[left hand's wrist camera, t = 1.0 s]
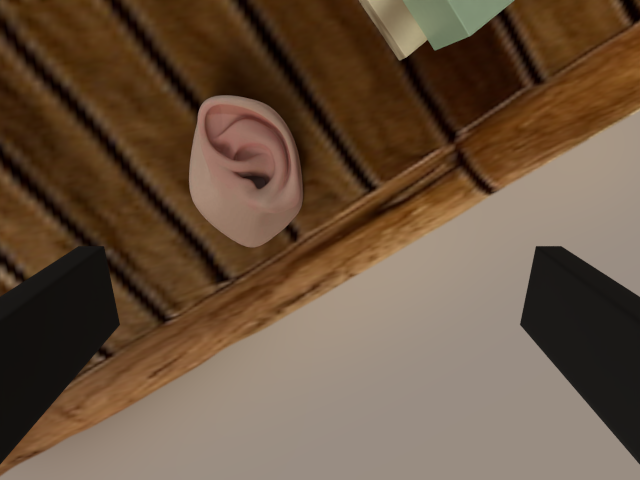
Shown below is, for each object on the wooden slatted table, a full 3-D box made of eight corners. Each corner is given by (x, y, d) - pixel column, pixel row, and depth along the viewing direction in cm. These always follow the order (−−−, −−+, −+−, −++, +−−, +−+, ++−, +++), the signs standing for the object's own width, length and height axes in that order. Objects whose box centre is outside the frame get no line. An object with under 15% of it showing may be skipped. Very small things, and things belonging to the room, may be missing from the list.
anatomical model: (272, 275, 36) (151, 225, 35) (277, 258, 40) (167, 213, 39) (334, 138, 32) (198, 75, 31) (333, 134, 36) (212, 78, 34)
